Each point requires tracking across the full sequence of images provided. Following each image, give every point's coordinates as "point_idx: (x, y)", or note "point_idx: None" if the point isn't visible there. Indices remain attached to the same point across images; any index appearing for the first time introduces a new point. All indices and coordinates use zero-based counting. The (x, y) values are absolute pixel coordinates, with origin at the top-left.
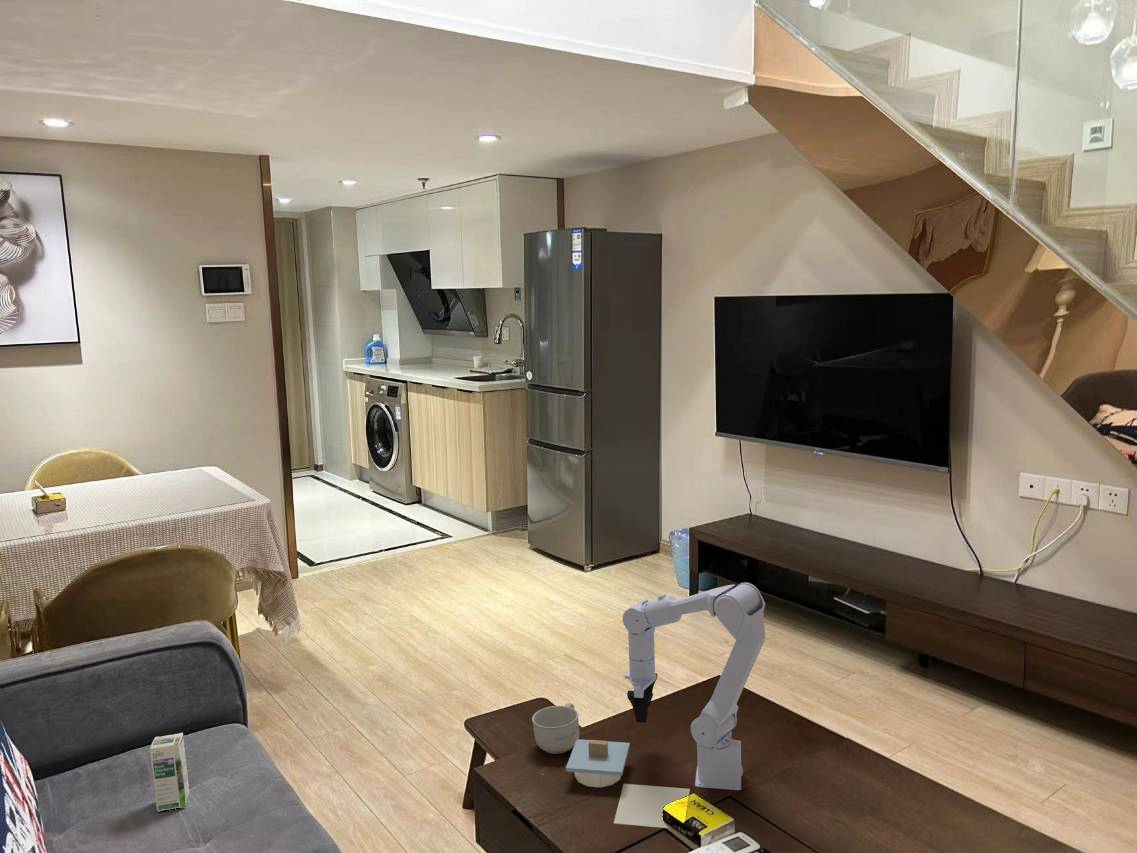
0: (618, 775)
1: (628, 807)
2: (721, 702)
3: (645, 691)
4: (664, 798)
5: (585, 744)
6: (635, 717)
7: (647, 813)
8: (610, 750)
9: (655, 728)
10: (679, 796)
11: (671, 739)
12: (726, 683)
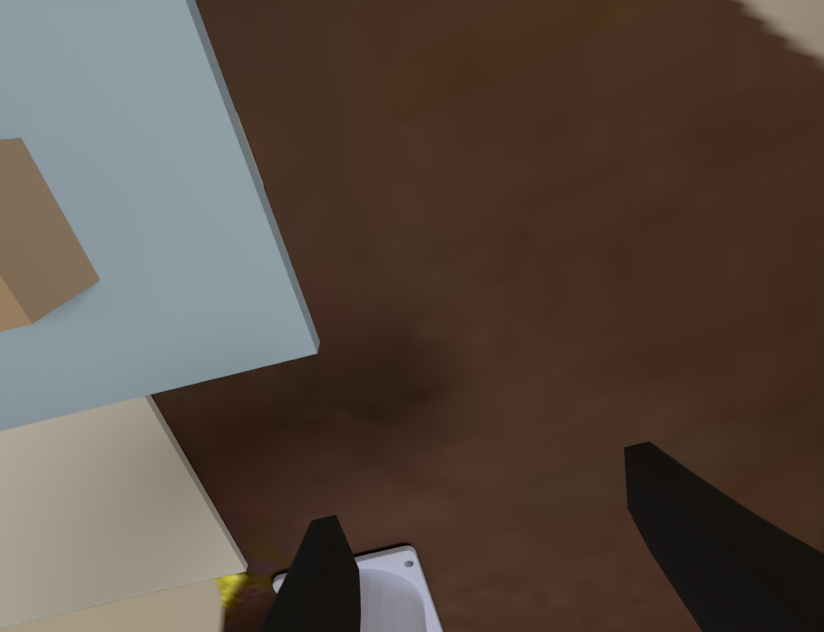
0: None
1: None
2: None
3: (732, 624)
4: (126, 525)
5: (111, 31)
6: (298, 552)
7: None
8: (153, 276)
9: (715, 287)
10: (175, 560)
11: (615, 391)
12: None
